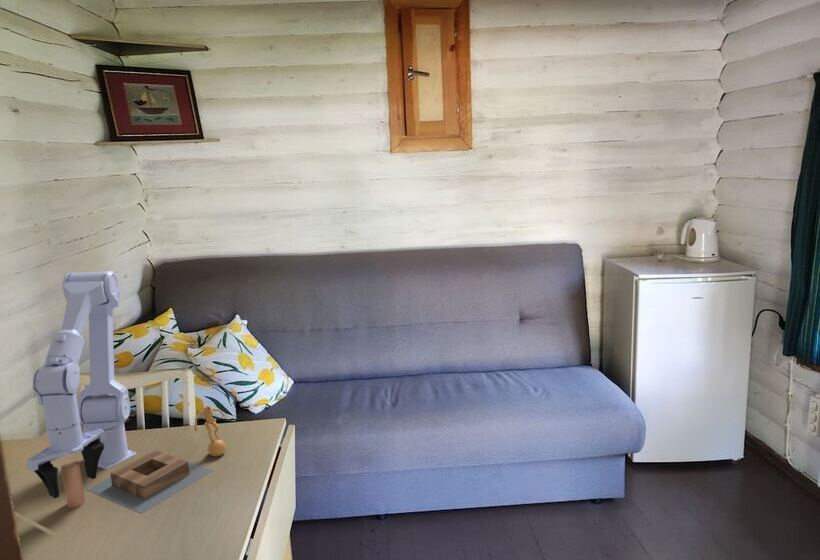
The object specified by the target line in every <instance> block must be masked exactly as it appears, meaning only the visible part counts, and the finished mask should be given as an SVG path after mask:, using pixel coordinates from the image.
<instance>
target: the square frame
mask: <svg viewBox="0 0 820 560" xmlns="http://www.w3.org/2000/svg"><path fill="white" fill-rule="evenodd" d="M188 462H189V461H187V460H185V459H182V458H179V457H176V456H174V455H170V454H167V453H164V452H162V451H159V450H156V449H154V450H152V451H150V452H148V453H146V454H144V455H142V456H140V457H138V458H136V459H135V460H132V461H131V462H129V463H127V464H125V465H123V466H121V467H118V468H117V469H115V470H113V471H111V472H110V473H109V474H110V477H111V481H112V486H114V487H117V488H119V489H121V490H124V491H126V492H128V493H131V494H133V495H136V496H138V497H140V498H143V499H145V500H146V499H148V498H149V497H151V496H153V495H154V494H156V493H158V492H160V491H161V490H163V489H165V488H166V487H168V486H170V485H172V484H173V483H175V482H177V481H178V480H180V479H182V478H184V477H185V476H187V475H189V466H188ZM153 471H155V472H153ZM151 472H153V473H151ZM149 473H151V474H150V475H148V474H149ZM146 475H148V476H146Z"/></svg>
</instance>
